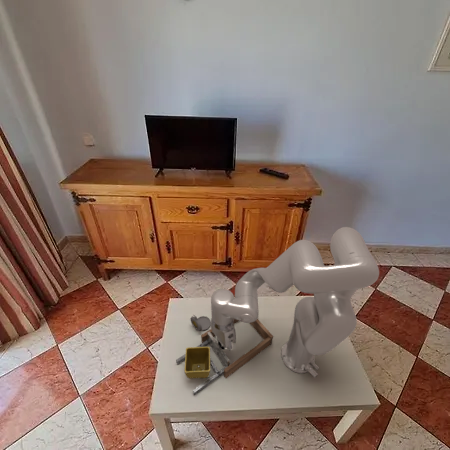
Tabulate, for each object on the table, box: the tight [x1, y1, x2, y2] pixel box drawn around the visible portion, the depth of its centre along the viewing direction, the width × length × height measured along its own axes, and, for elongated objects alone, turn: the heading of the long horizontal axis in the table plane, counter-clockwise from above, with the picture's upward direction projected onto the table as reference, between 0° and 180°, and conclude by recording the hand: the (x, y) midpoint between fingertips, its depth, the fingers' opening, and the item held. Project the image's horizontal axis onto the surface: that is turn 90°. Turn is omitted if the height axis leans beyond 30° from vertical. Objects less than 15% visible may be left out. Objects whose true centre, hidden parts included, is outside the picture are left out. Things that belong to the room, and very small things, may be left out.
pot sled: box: [175, 332, 231, 396], centre depth 95 cm, size 14×15×7 cm
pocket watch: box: [189, 314, 211, 332], centre depth 108 cm, size 8×8×10 cm
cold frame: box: [200, 318, 274, 379], centre depth 103 cm, size 17×23×6 cm
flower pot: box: [184, 346, 211, 380], centre depth 94 cm, size 9×9×9 cm
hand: (222, 347), depth 100 cm, fingers closed
